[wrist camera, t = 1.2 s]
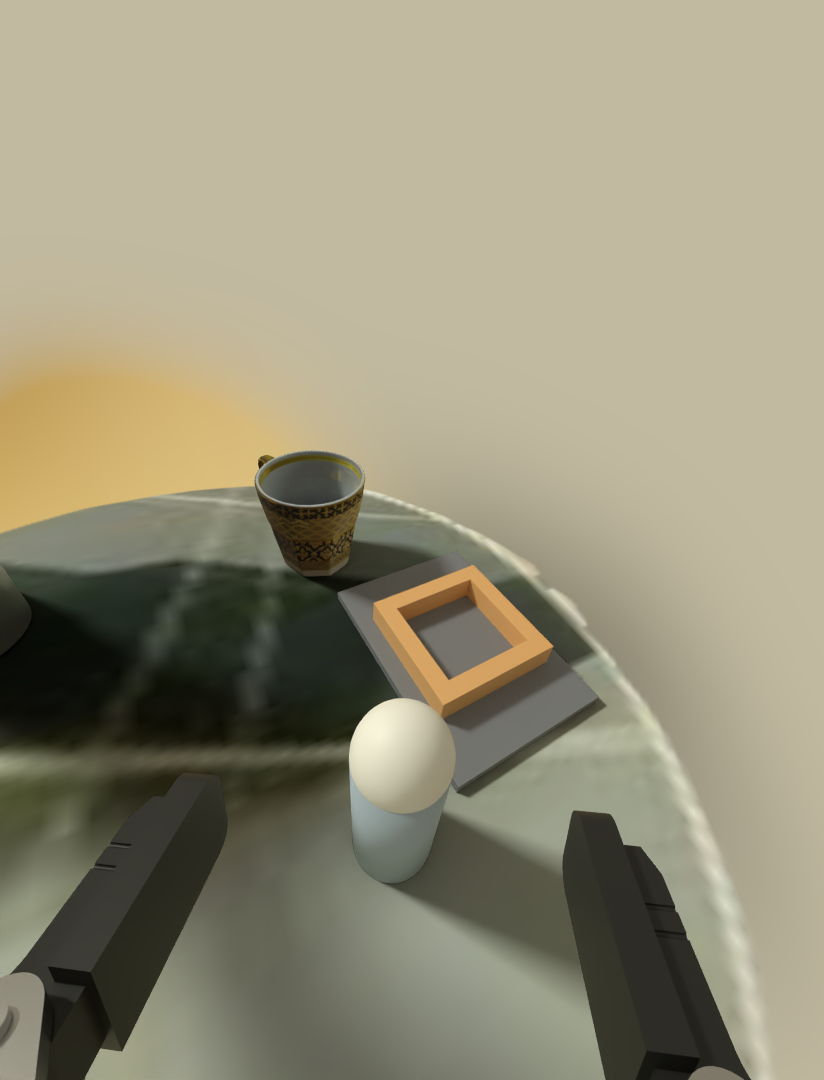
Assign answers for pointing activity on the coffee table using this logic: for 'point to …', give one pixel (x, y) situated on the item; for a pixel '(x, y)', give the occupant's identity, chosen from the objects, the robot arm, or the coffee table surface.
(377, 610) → the jig
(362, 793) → the pale grey cylinder
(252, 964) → the coffee table surface
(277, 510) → the ceramic cup
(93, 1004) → the robot arm
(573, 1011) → the coffee table surface
